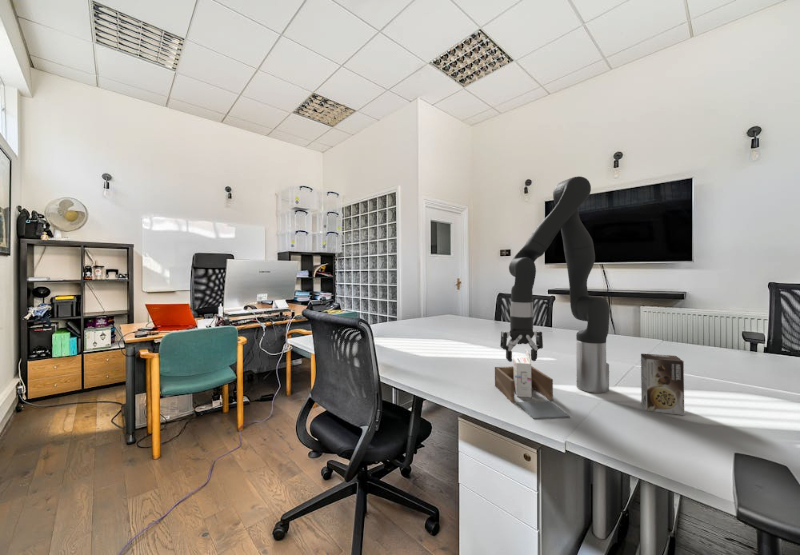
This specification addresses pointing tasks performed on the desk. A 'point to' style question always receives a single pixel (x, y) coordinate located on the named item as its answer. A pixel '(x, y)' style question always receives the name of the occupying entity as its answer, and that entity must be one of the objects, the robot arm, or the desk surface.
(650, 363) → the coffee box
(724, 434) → the desk surface
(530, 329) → the robot arm
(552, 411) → the mat
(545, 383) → the open front box
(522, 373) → the ink cartridge box
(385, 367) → the desk surface
